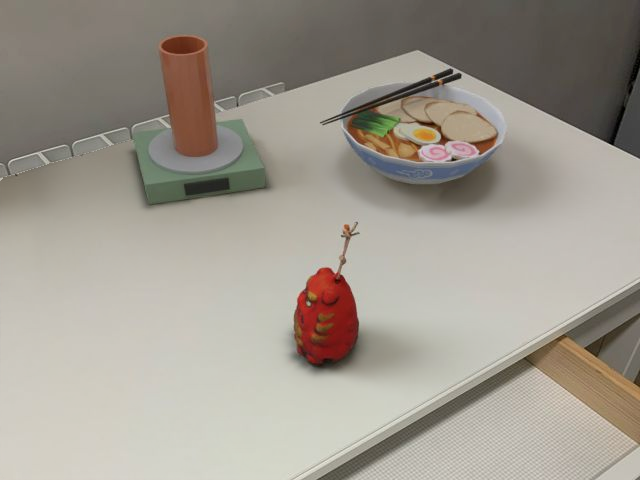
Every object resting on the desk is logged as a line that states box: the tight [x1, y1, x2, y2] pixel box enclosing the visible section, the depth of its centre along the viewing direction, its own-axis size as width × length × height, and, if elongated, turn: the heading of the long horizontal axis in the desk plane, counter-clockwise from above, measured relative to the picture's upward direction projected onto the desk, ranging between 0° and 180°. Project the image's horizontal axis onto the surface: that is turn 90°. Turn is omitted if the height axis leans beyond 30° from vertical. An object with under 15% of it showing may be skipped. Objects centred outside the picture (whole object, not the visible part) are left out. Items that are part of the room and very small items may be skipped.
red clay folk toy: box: [293, 221, 361, 366], centre depth 67 cm, size 8×7×15 cm
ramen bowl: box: [319, 67, 509, 185], centre depth 93 cm, size 25×23×8 cm
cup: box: [157, 34, 218, 157], centre depth 87 cm, size 6×6×13 cm
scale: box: [132, 118, 266, 205], centre depth 93 cm, size 16×14×4 cm
